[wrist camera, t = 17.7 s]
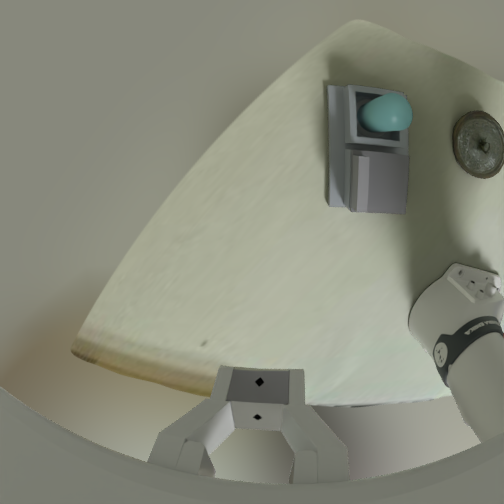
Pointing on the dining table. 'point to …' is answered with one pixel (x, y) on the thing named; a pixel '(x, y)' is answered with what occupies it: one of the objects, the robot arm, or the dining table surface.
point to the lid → (479, 144)
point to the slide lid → (379, 182)
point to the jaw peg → (385, 114)
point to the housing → (354, 137)
